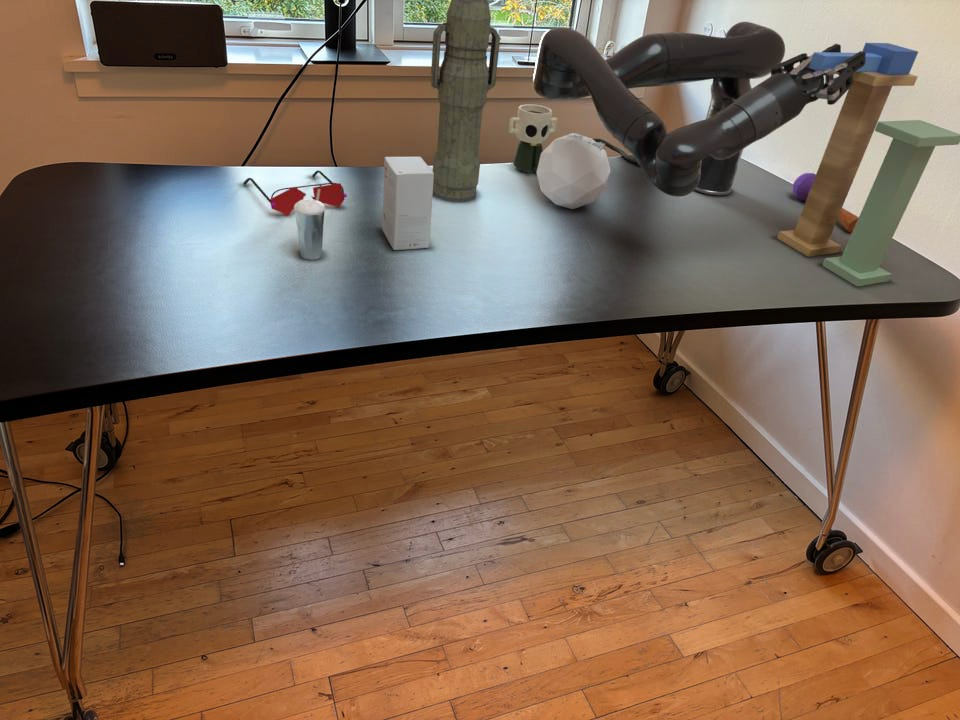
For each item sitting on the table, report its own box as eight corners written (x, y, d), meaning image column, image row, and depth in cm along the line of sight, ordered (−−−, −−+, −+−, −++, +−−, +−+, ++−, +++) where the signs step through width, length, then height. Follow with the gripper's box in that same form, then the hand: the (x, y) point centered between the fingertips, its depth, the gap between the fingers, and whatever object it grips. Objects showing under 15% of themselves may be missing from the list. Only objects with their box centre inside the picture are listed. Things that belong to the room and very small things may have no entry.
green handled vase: (491, 199, 139) (513, 2, 119) (435, 204, 134) (449, -1, 114) (471, 182, 145) (490, -8, 125) (418, 187, 140) (428, -10, 120)
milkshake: (333, 251, 114) (332, 192, 109) (316, 264, 110) (314, 203, 104) (308, 244, 115) (306, 185, 110) (291, 257, 111) (287, 197, 105)
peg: (828, 74, 110) (837, 50, 108) (799, 65, 114) (807, 41, 112) (908, 74, 117) (918, 51, 115) (879, 65, 121) (888, 43, 119)
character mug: (509, 175, 150) (517, 113, 143) (498, 164, 156) (505, 103, 148) (556, 174, 154) (566, 114, 146) (543, 163, 159) (552, 104, 152)
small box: (430, 248, 118) (435, 173, 111) (392, 251, 116) (395, 174, 109) (417, 228, 124) (420, 155, 117) (381, 230, 122) (383, 156, 115)
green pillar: (852, 287, 122) (920, 137, 108) (817, 266, 128) (878, 121, 113) (892, 280, 126) (963, 135, 111) (856, 260, 132) (919, 119, 117)
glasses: (272, 219, 121) (270, 191, 119) (243, 184, 133) (240, 158, 130) (348, 209, 128) (348, 182, 125) (314, 176, 139) (313, 151, 136)
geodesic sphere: (628, 171, 142) (596, 107, 136) (628, 197, 130) (592, 128, 125) (562, 204, 148) (529, 144, 143) (556, 232, 137) (519, 167, 131)
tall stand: (803, 257, 131) (875, 76, 113) (773, 238, 137) (837, 63, 118) (842, 252, 135) (918, 76, 116) (811, 234, 140) (878, 64, 122)
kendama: (846, 215, 140) (790, 170, 155) (838, 241, 144) (784, 195, 159) (873, 210, 141) (815, 166, 155) (864, 235, 145) (809, 190, 159)
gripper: (794, 101, 104) (888, 41, 105) (730, 76, 115) (816, 21, 116) (798, 144, 110) (887, 86, 110) (736, 116, 120) (818, 63, 121)
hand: (850, 53), depth 113 cm, fingers open, 4 cm apart
